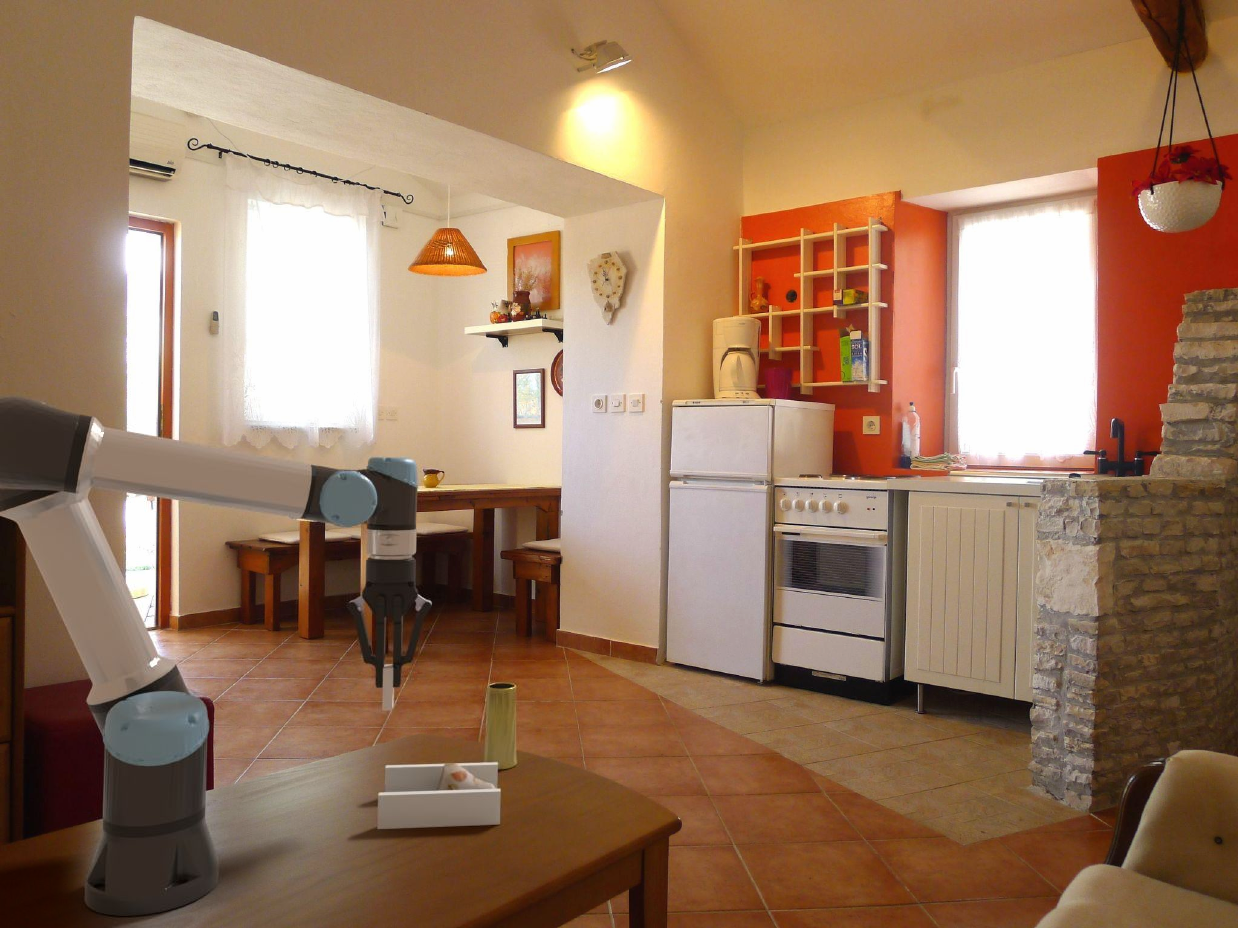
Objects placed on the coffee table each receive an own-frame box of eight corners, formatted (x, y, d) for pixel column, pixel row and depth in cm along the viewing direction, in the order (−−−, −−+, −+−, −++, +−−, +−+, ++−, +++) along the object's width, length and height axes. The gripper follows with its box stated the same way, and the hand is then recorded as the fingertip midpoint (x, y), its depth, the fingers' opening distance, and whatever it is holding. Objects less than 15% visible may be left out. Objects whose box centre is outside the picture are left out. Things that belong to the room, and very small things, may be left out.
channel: (377, 828, 137) (378, 795, 137) (385, 795, 151) (386, 765, 151) (499, 824, 140) (500, 791, 140) (496, 792, 154) (497, 762, 154)
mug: (501, 816, 144) (471, 765, 142) (445, 841, 145) (415, 791, 142) (505, 788, 151) (476, 739, 149) (451, 811, 152) (422, 763, 150)
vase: (478, 768, 165) (480, 688, 165) (488, 757, 171) (490, 680, 171) (511, 771, 164) (513, 690, 164) (520, 760, 170) (522, 682, 170)
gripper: (344, 558, 139) (341, 715, 139) (433, 559, 141) (429, 713, 142) (350, 553, 147) (347, 702, 147) (434, 554, 149) (431, 700, 149)
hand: (387, 707), depth 144 cm, fingers closed
